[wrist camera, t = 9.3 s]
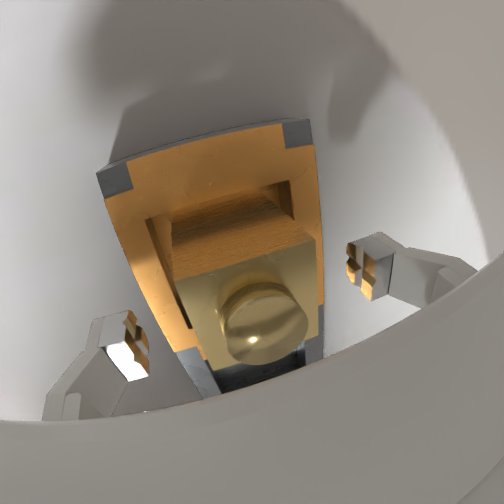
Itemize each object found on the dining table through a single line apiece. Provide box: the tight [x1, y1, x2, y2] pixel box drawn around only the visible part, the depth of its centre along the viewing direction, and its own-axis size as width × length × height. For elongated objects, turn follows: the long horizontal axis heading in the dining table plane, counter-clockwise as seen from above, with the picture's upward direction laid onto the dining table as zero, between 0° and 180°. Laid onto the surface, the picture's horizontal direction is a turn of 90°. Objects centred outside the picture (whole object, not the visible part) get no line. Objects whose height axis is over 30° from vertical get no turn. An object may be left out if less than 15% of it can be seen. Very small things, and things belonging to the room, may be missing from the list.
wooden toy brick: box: [171, 192, 318, 371], centre depth 10 cm, size 4×4×6 cm
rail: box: [96, 118, 324, 399], centre depth 16 cm, size 26×8×2 cm, turn 10°
